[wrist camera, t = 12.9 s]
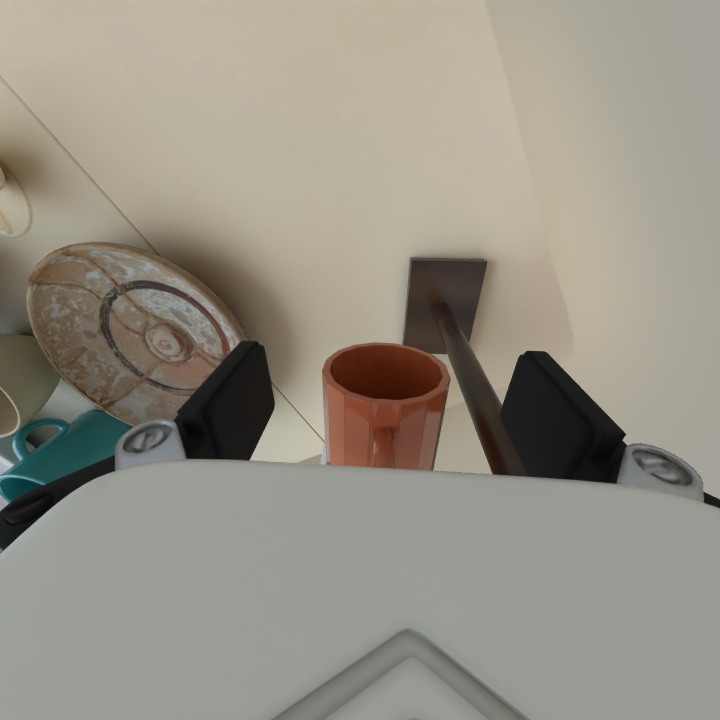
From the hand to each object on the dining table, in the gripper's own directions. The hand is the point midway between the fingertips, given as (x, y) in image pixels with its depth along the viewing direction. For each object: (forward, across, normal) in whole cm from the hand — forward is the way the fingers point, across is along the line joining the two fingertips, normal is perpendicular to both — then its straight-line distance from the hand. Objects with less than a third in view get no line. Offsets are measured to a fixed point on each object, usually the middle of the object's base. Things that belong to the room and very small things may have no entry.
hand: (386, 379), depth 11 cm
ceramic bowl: (+21, +25, +10) cm, 34 cm away
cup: (+21, +41, +25) cm, 52 cm away
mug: (+2, 0, +11) cm, 11 cm away
